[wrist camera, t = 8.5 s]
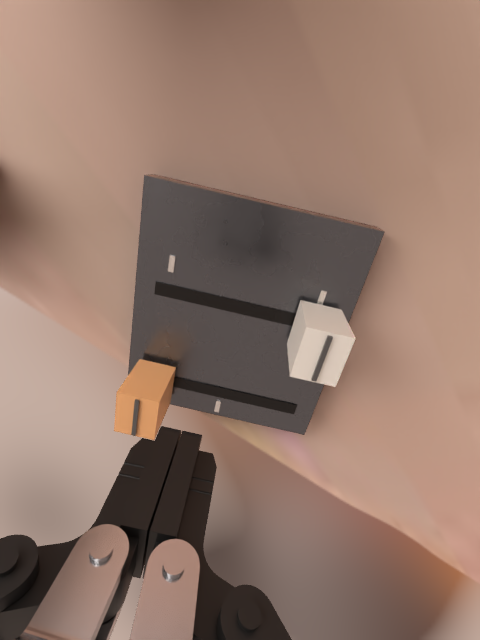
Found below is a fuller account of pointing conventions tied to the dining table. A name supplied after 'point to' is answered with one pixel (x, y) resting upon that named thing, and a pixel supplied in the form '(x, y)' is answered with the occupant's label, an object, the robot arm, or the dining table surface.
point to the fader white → (319, 343)
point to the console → (238, 295)
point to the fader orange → (144, 399)
